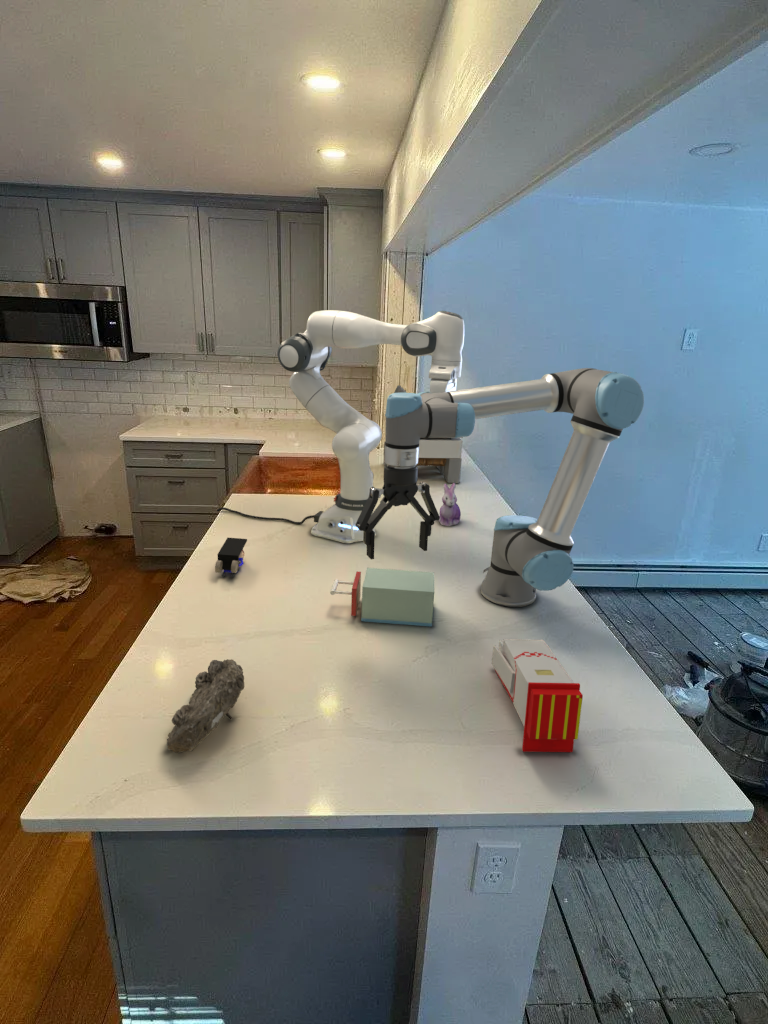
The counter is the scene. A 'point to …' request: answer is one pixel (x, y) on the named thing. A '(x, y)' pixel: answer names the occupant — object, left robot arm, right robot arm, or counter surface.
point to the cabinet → (398, 597)
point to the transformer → (440, 453)
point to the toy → (539, 694)
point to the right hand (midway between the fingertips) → (397, 552)
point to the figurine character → (230, 556)
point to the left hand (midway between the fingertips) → (442, 417)
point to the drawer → (354, 593)
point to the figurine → (449, 507)
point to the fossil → (206, 705)
